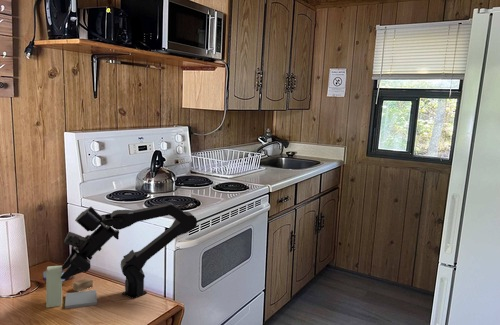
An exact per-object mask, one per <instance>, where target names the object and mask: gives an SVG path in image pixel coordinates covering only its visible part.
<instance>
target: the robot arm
mask: <svg viewBox="0 0 500 325" xmlns="http://www.w3.org/2000/svg"><path fill="white" fill-rule="evenodd" d="M167 216H171V217H172V218H174V220H173V223H172V224H171V225H170V226H169V227H168V228H167V229H165V231H163V232H162V233H160V234H159V235H158V236H157V237H156V238H154V239H153V240H151V241H150V242H149V243H148V244H146V245H145V246H144V247H142V248H141V249H140V250H138V251H135V250H133V249H131V250H130V251H129V252H128V253H127V254H125V255H123V258H122V259H121V260H120V268H121V272H122V275H123V276H124V277H125V282H124V285H125V286H124V288H125V289H124V291H122V292H121V294H122V295H124V296H125V297H128V298H131V299H133V300H134V299H136V298H139V297H141V296H143V295H146V294H147V293H148V291H147V290H144V288H145V287H144V286H145V277H146V276H145V273H144V271H143V268H144V267H145V265H146V263H147V261H149V260H150V259H151V258H152V257H154V256H155V255H156V254H158V253H159V252H160V251H161V250H163V249H164V248H165V247H166V246H168V245H169V244H170V243H171V242H172V241H174V240H175V239H176V238H177V237H179V236H182V235H185V234H187V233H190V232H192V230H194V229H195V228H196V227H197V225H198V219H197V217H196V216H195V215H193V213H191V212H190V211H184V210H182V209H181V208H179V207H177V206H175V204H173V202H166V203H163V204H158V205H154V206H149V207H143V208H139V209H116V210H113V211H112V212H111V213H106V214H99V213H98V212H97V211H96V210H95V209H94V207H93V206H89V207H88V208H86V209H84V210H83V211H81V213H80V214H79V215H78V216H77V217H76V218H75V222H76V223H77V224H78V225H79V226H81V227H82V228H83V229H84V230H85V231H87V232H91V233H90V234H88V235H85V237H84V236H82V235H80V234H77V233H75V232H71V231H68V232H67V235H66V237H65V239H64V241H63V244H65V245H67V246H71V248H70V251H71V252H70V255H69V256H68V257H67V258H66V259H65V261H64V263H63V265H62V269H64V270H65V271H63V272H64V273H63V275H62V276H61V279H62V280H63V279H66V278H68V277H70V278H71V277H72V276H75V275H78V274H82V273H87V272H88V271H89V270H91V260H92V259H93V256H94V255H95V254H96V253H97V252H100V251H101V250H102V248H103V246H105V244H107V243H108V242H109V240H111V239H112V238H114V239H116V240H117V241H118V240H119V234H120V231H119V230H123V229H126V228H128V227H131V226H132V225H134V224H136V223H139V222H144V221H148V220H152V219H157V218H161V217H167Z"/></svg>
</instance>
